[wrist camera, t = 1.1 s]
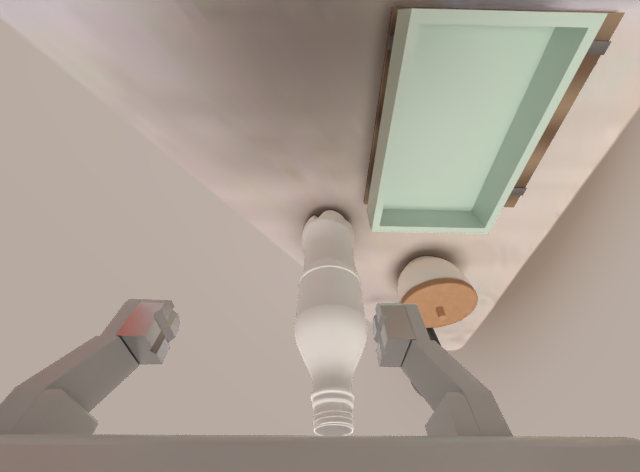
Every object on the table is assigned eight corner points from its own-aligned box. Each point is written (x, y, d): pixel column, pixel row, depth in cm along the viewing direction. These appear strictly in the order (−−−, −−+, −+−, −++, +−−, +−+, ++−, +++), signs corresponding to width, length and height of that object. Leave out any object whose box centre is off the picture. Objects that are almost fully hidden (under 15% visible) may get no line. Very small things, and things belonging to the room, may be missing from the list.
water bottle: (362, 225, 39) (402, 431, 20) (327, 251, 42) (331, 449, 23) (328, 195, 36) (336, 405, 16) (293, 225, 39) (264, 430, 20)
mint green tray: (395, 9, 23) (411, 8, 18) (554, 13, 23) (608, 13, 18) (365, 205, 35) (371, 231, 31) (468, 207, 35) (488, 233, 31)
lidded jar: (414, 297, 49) (429, 345, 42) (377, 269, 45) (388, 318, 38) (468, 268, 45) (497, 317, 37) (434, 233, 40) (459, 282, 33)
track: (392, 7, 24) (394, 6, 23) (616, 12, 24) (628, 12, 23) (363, 201, 36) (364, 205, 35) (510, 204, 36) (515, 208, 36)
